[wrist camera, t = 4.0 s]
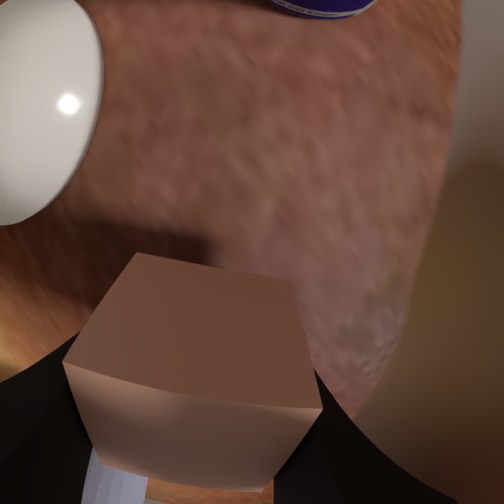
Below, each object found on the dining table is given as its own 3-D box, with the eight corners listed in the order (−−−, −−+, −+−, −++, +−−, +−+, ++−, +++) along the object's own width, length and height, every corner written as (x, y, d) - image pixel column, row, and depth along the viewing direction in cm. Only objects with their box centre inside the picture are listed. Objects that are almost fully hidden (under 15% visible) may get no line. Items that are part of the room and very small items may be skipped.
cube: (256, 383, 12) (261, 492, 7) (136, 361, 11) (101, 464, 6) (290, 281, 10) (322, 409, 5) (136, 252, 9) (62, 361, 4)
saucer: (90, 235, 11) (79, 244, 10) (-48, 205, 10) (-58, 210, 9) (136, -21, 7) (127, -31, 6) (-27, 21, 6) (-38, 20, 5)
